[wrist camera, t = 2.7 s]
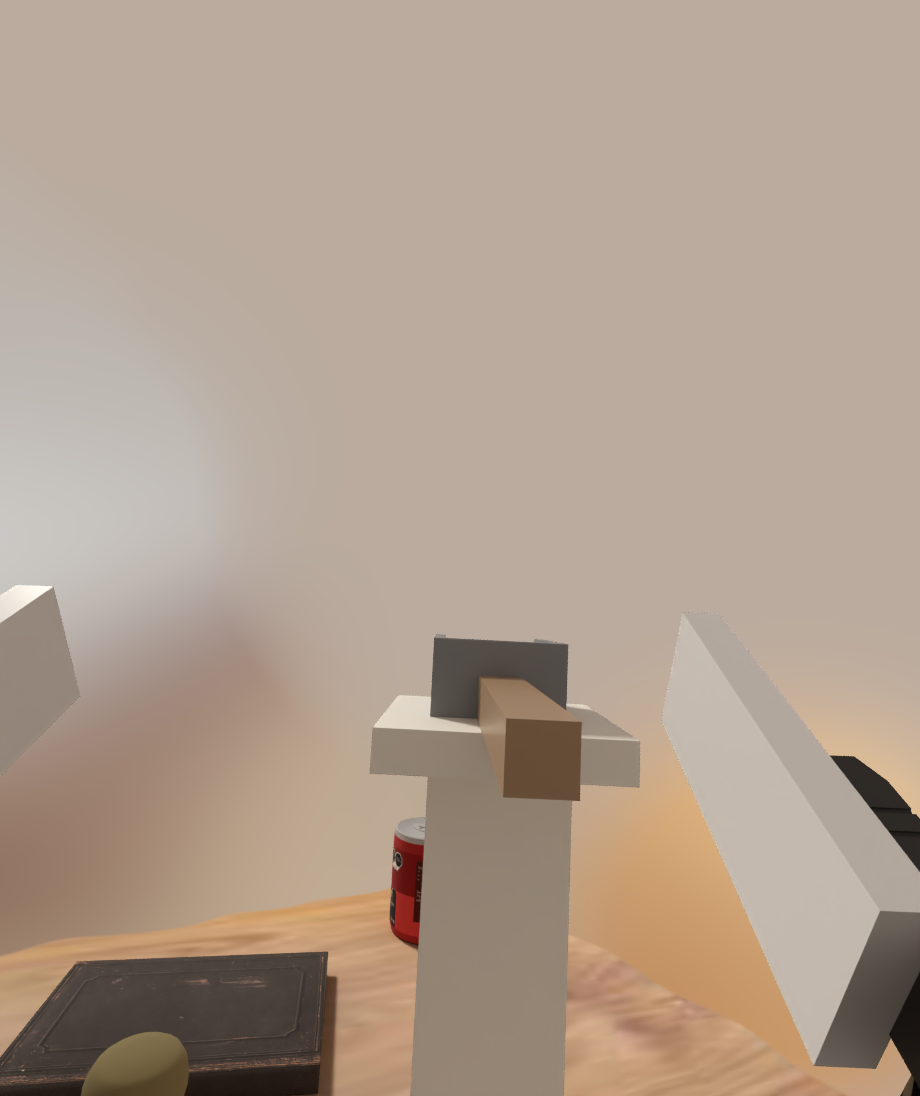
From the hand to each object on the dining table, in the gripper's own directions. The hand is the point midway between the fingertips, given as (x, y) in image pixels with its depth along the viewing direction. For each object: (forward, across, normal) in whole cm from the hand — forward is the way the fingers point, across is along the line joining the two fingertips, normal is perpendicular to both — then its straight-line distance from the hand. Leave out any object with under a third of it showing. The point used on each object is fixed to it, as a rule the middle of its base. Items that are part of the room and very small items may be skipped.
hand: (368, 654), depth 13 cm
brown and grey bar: (+12, +4, -11) cm, 17 cm away
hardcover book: (+20, -20, -51) cm, 58 cm away
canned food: (+36, -1, -60) cm, 70 cm away
